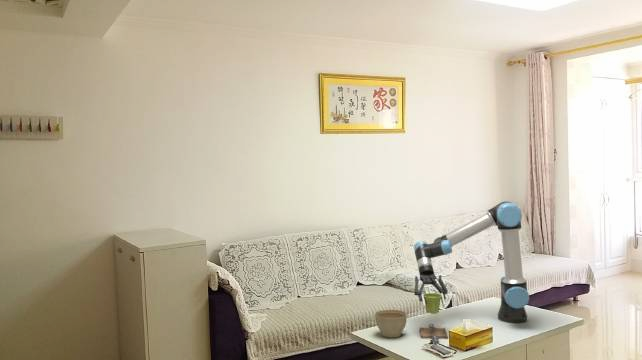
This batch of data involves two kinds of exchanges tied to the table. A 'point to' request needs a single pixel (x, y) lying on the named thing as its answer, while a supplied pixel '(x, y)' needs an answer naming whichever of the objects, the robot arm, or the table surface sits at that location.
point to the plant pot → (432, 302)
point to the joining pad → (433, 333)
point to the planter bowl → (391, 322)
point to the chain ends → (434, 337)
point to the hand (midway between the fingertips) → (434, 306)
